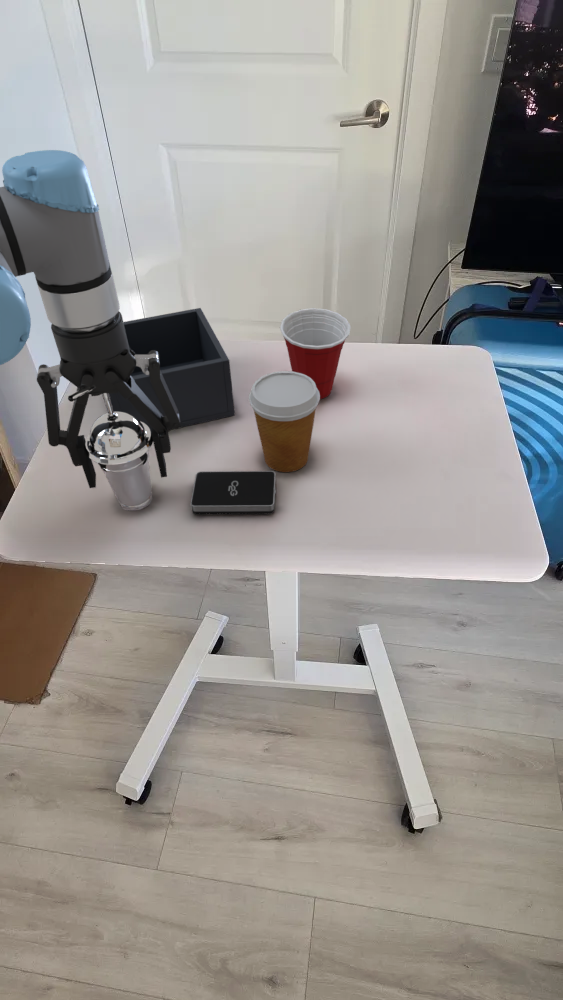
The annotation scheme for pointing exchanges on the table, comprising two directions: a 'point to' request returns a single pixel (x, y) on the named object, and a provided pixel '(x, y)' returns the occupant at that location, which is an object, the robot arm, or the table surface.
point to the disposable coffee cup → (285, 417)
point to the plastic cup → (315, 344)
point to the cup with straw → (121, 453)
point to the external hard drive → (234, 492)
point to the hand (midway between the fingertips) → (128, 475)
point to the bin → (181, 366)
